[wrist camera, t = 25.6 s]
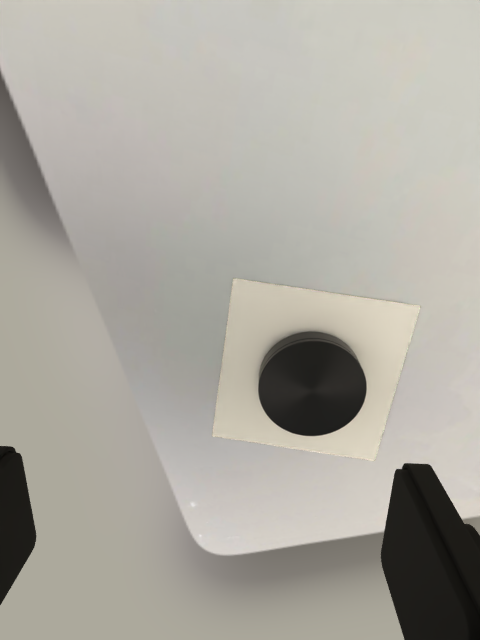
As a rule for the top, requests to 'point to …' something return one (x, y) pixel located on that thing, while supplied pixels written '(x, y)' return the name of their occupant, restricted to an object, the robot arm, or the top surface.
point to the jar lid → (311, 384)
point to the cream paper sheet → (316, 316)
